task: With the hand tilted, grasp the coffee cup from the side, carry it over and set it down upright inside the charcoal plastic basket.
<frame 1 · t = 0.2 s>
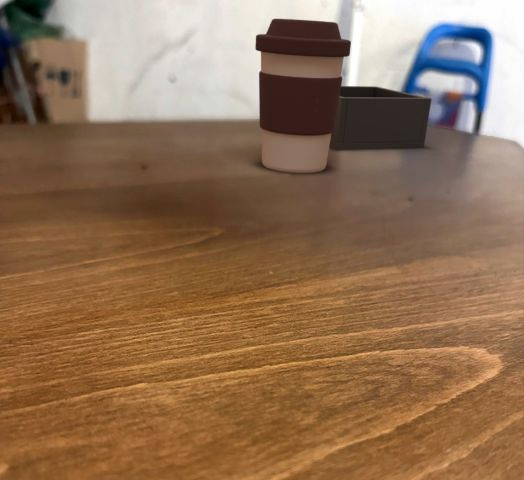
basket: (355, 140, 94), on the table
coffee cup: (293, 169, 76), on the table
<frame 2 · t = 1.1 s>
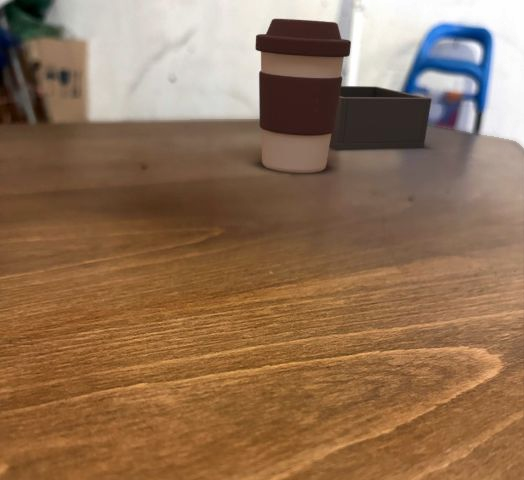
nothing on the table moved.
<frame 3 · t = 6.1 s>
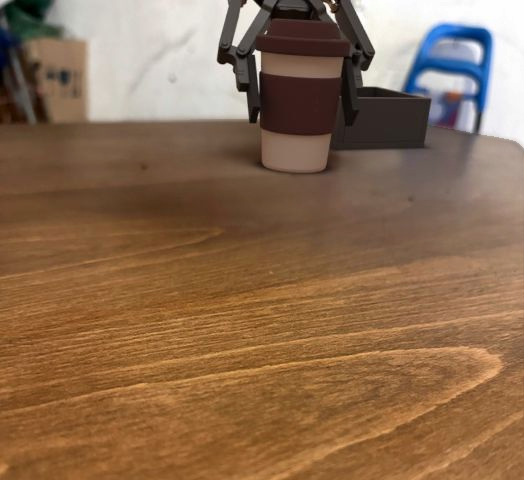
hand: (304, 116, 70), 6 cm above the table, tool tilted 45°, fingers closed on coffee cup, 10 cm apart
coffee cup: (293, 169, 76), on the table, touching gripper
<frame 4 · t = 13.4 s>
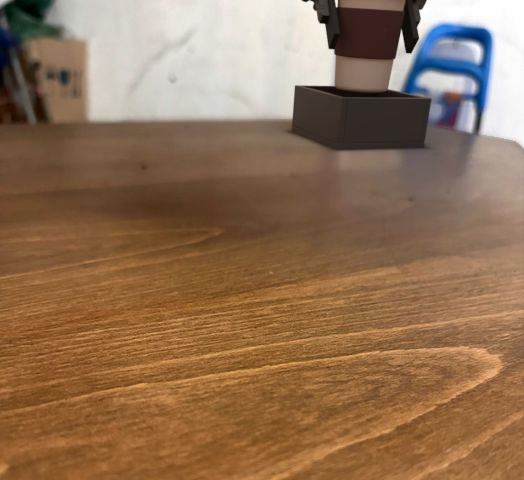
hand: (373, 43, 86), 13 cm above the table, tool tilted 45°, fingers closed on coffee cup, 10 cm apart
coffee cup: (360, 91, 91), point 6 cm above the table, touching gripper
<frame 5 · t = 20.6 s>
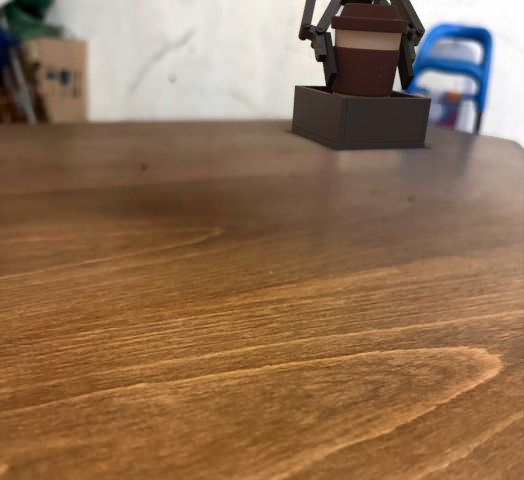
hand: (370, 81, 88), 8 cm above the table, tool tilted 45°, fingers closed on coffee cup, 10 cm apart
coffee cup: (357, 126, 93), point 2 cm above the table, touching gripper
when the fingers open (8 cm above the table, at t = 20.7 s): coffee cup drops 1 cm, resting on basket.
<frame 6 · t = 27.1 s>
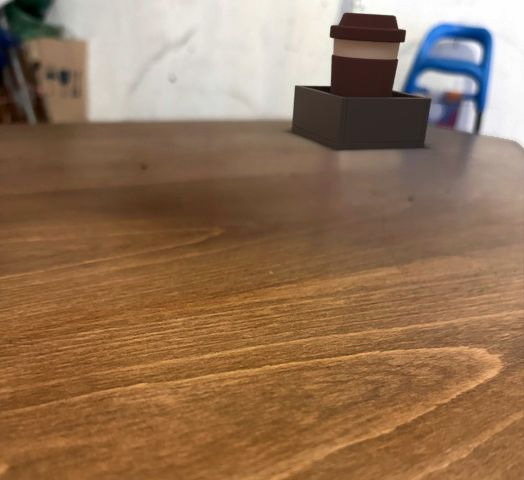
coffee cup: (356, 134, 94), point 1 cm above the table, touching basket
at the end: coffee cup inside the target area in the basket (0.0 cm from its centre), point 0.8 cm above the basket's base; coffee cup tilted 0°; the gripper is holding nothing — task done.
